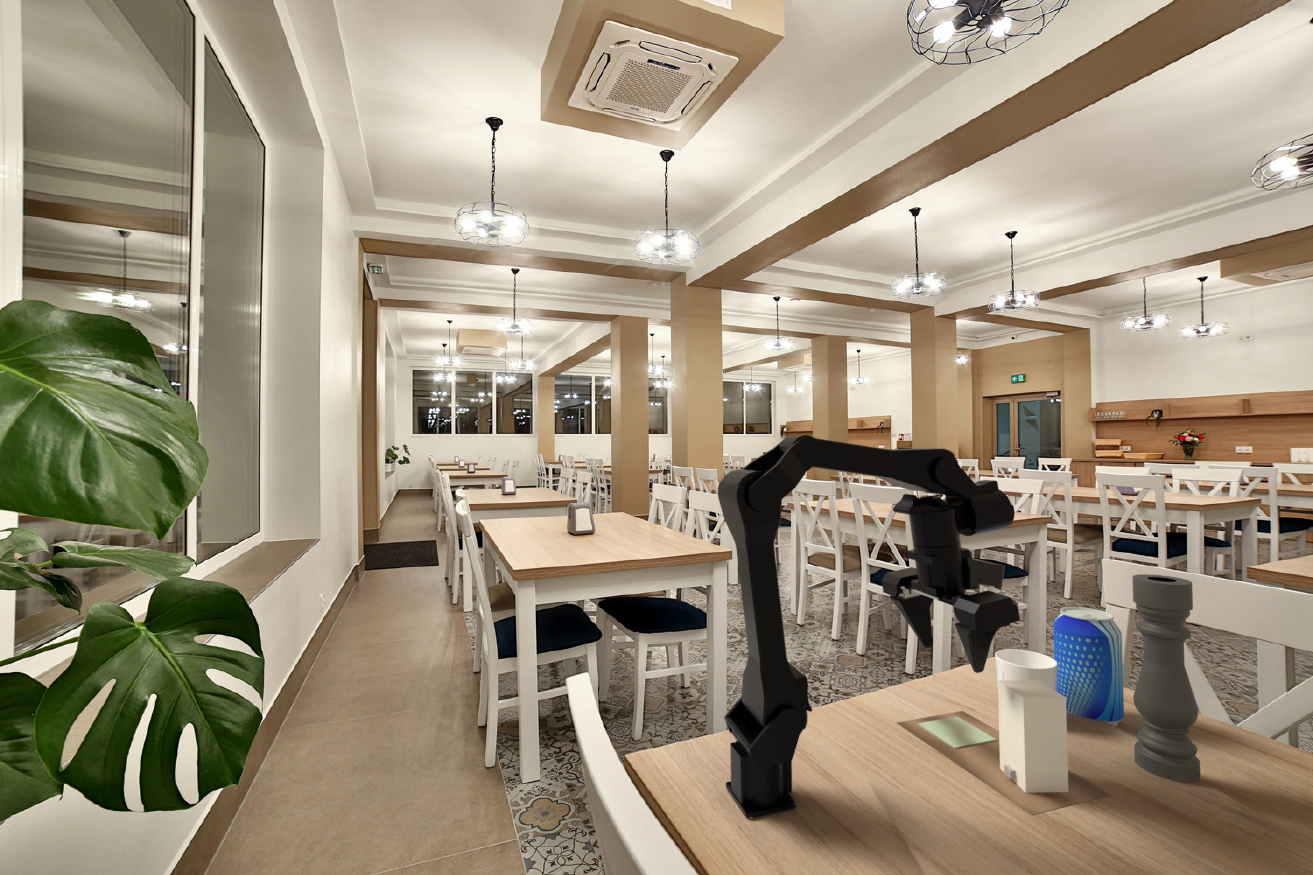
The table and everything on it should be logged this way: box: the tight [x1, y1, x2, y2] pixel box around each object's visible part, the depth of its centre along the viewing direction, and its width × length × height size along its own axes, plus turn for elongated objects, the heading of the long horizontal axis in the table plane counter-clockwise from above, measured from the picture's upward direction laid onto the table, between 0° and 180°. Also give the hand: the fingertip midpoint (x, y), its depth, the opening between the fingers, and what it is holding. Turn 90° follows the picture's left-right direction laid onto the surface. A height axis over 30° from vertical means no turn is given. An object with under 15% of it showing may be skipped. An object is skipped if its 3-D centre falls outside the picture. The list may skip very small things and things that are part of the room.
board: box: [896, 710, 1113, 816], centre depth 75 cm, size 12×22×6 cm, turn 16°
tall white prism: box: [997, 680, 1069, 793], centre depth 70 cm, size 6×5×11 cm
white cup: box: [994, 648, 1058, 692], centre depth 86 cm, size 8×8×10 cm
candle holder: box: [1132, 573, 1201, 783], centre depth 72 cm, size 6×6×25 cm
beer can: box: [1053, 606, 1125, 727], centre depth 88 cm, size 8×8×16 cm
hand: (951, 658), depth 76 cm, fingers open, 9 cm apart
